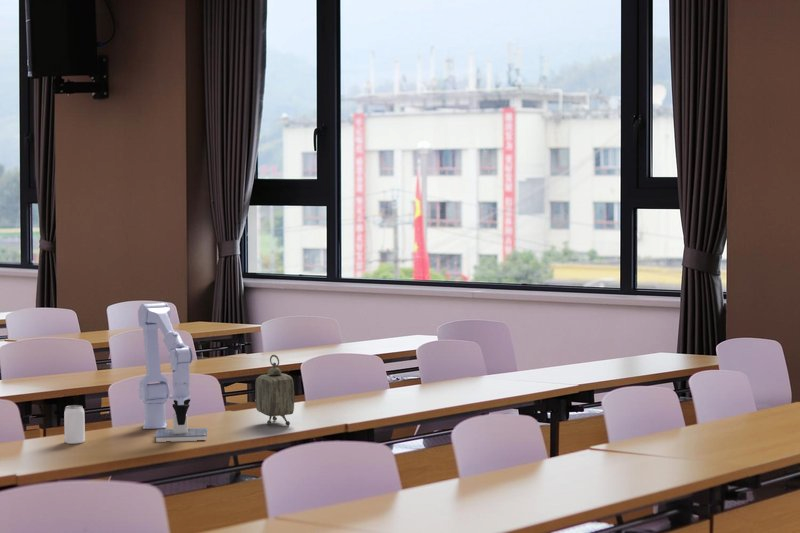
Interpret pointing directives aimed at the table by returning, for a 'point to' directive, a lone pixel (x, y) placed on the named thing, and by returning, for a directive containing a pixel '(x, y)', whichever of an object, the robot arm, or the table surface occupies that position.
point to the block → (179, 426)
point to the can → (74, 424)
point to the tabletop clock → (274, 393)
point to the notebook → (181, 435)
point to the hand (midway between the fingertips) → (181, 422)
